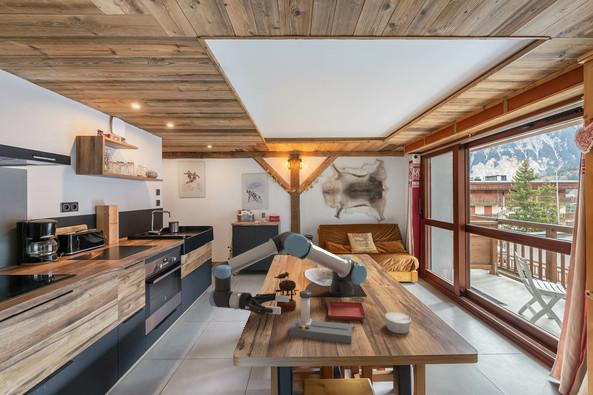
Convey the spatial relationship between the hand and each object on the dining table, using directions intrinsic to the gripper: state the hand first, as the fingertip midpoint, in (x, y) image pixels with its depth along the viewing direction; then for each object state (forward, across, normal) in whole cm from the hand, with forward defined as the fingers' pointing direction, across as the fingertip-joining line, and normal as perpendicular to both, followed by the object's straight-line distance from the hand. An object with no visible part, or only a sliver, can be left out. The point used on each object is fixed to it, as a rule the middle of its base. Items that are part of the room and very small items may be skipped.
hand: (284, 304), depth 115 cm
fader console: (+16, 0, -11) cm, 20 cm away
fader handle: (+9, 0, -8) cm, 12 cm away
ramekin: (+50, -12, -11) cm, 53 cm away
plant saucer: (+26, -23, -12) cm, 37 cm away
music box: (-5, -23, -11) cm, 26 cm away
